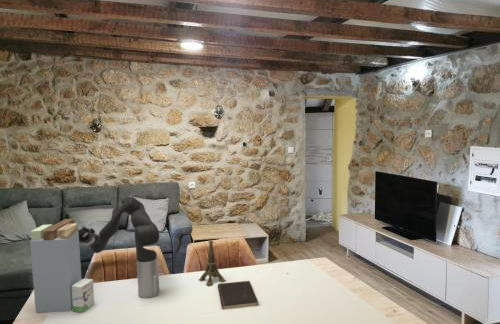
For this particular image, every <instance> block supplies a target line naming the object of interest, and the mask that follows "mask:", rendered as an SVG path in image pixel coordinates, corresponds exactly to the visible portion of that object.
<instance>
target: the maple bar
mask: <svg viewBox="0 0 500 324" xmlns="http://www.w3.org/2000/svg"><path fill="white" fill-rule="evenodd" d="M77 230H78V223H76V222H74V224H67V225H65V226H63V227H62V228H60V229H58V230H57V235H58V239H68V238H69V237H71V236H72V235H74V234H75V233H77Z"/></svg>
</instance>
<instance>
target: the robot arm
mask: <svg viewBox="0 0 500 324" xmlns="http://www.w3.org/2000/svg"><path fill="white" fill-rule="evenodd" d="M124 213H126V214H128V215H129V216H130V223H131V225H132V228H134V241H135V251H136V252H135V253H136V254H135V255H136V272H137V293H138V294H137V295H138V297H140V298H143V299H144V298H145V299H147V298H152V297H157V296H158V294H159V292H160V277H159V271H158V259H157V258H158V257H157V252H156V251H155V250H153V249H148V248H146V247H144V246H150V245H154V244H157V243H159V240H160V231H159V229H158V227H157V225H156V224H155V223H154V222H153V220H152V219H151V218H150V216H149V214H148V212H147V211H146V208H145V205H144V204H143V203H142V202H141V201H140V200H138V199H136V198H135V197H134V196H129V197H128V198H126V199H125V200H124V201H123V203H122V204H121V205H120V206H119V208H118V209H117V210H116V212H115V213H114V214H113V216H111V218H110V220H109V221H108V222H107V224H106V225H105V226H104V227H103V228H101V230H100V231H98V232H99V233H98V234H99V235H98V234H96V230H95V229H94V228H92V227H91V228H90V229H89V228H88V227H85V226H82V228H80V229H77V231H78V233H79V243H81V244H82V245H85V246H86V247H90V249H91V251H92V252H93V253H95V254H100V253H101V252H103V250H105V248H106V246H107V245H108V242H109V241H110V239H111V238H112V237H113V236H114V235H115V234H116V233H117V231H118V230H119V227H120V222H121V217H122V215H123V214H124Z"/></svg>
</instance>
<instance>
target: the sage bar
mask: <svg viewBox="0 0 500 324" xmlns="http://www.w3.org/2000/svg"><path fill="white" fill-rule="evenodd" d="M52 226H53V224H50V223H49V224H42V225H40V226H38V227H36V228H34V229H33V230H30V238H31V239H30V241H31V240H42V239H43V231H44V230H46V229H48V228H50V227H52Z"/></svg>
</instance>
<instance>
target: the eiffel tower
mask: <svg viewBox="0 0 500 324" xmlns="http://www.w3.org/2000/svg"><path fill="white" fill-rule="evenodd" d="M207 243H208V244H209V245H208V247H209V248H208V255H207V256H208V257H207V258H208V259H207V261H206V268H205V269H204V273H203V274H202V275H201V276H200V278H199V279H198V281H199V282H205V281H206V278H207V277H208V279H207V281H206V284H205V286H206V287H212V286H214V284H213V279H212V278H214V279H215V278H218V281H219V282H220V283H226V282H227V280H226V279H225V278H224V276H223V275H222V274H221V273H220V272H219V271H220V270H219V269H218V267H217V263H218V262H217V261H216V257H215V251H214V246H213V244H214V241H213V240H212V239H210V240H208V242H207Z"/></svg>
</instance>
